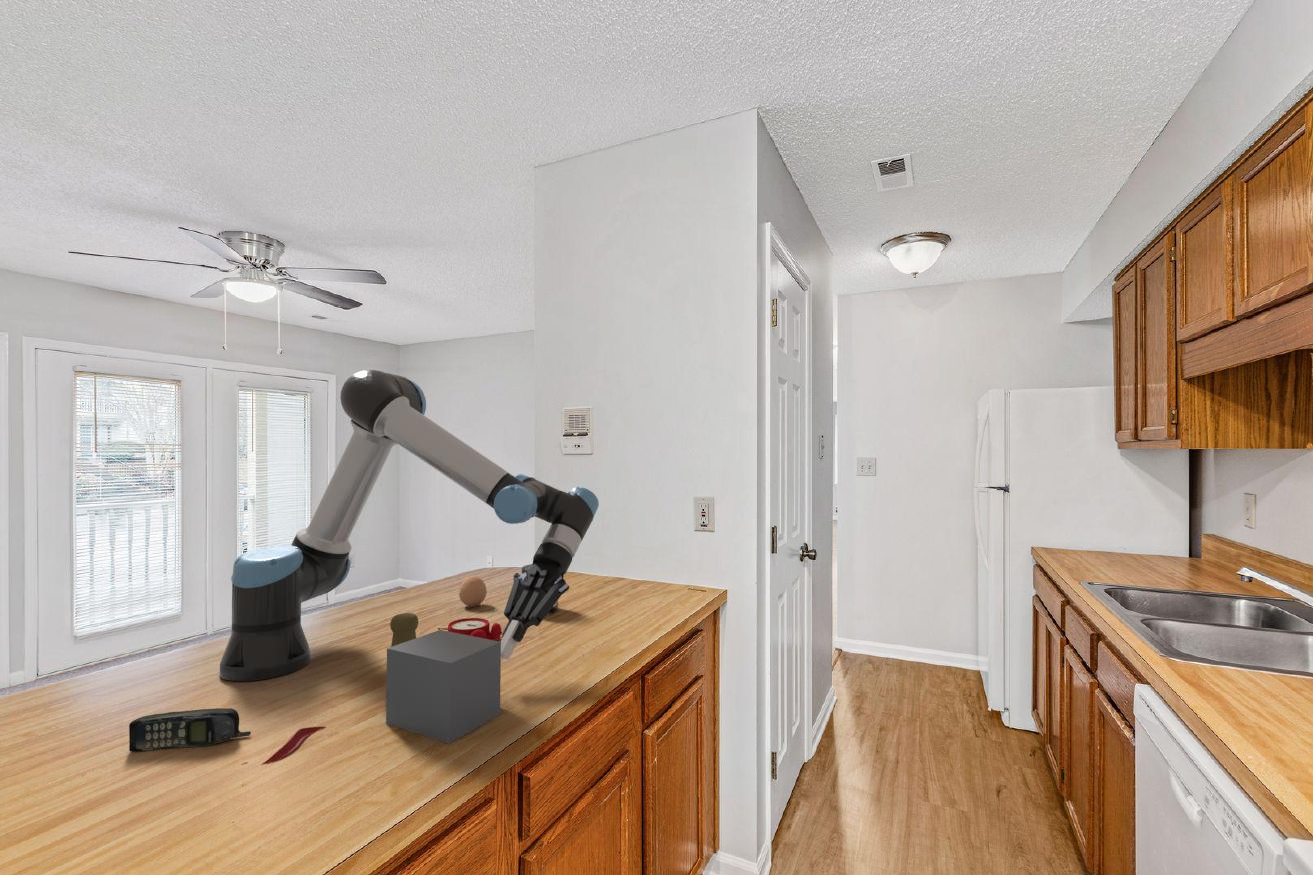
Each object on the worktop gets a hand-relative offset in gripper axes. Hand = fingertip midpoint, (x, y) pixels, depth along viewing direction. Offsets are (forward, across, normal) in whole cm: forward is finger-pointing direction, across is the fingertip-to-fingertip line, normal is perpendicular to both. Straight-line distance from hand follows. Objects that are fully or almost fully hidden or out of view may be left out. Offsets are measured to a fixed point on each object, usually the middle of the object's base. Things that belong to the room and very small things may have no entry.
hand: (502, 655), depth 108 cm
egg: (-24, +46, -33) cm, 61 cm away
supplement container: (-27, +26, -36) cm, 52 cm away
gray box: (+14, 0, +5) cm, 15 cm away
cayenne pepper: (+26, +14, +16) cm, 34 cm away
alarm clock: (-8, +24, -17) cm, 30 cm away
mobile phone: (+31, +27, +22) cm, 46 cm away
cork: (+6, +24, -3) cm, 25 cm away
